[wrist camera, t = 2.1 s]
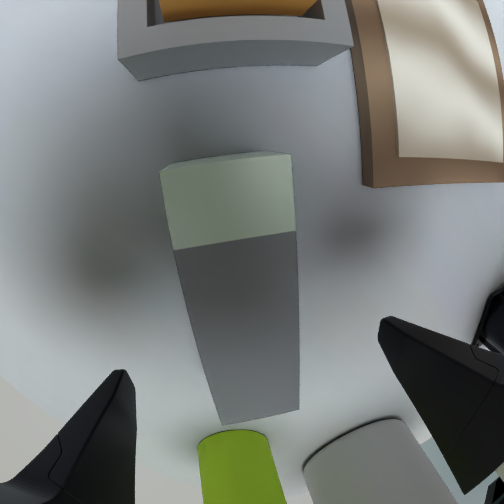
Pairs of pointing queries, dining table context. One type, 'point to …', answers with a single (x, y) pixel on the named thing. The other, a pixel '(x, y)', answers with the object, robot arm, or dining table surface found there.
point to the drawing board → (427, 92)
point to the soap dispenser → (238, 469)
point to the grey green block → (239, 277)
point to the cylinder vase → (375, 469)
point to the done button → (231, 8)
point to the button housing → (227, 39)
